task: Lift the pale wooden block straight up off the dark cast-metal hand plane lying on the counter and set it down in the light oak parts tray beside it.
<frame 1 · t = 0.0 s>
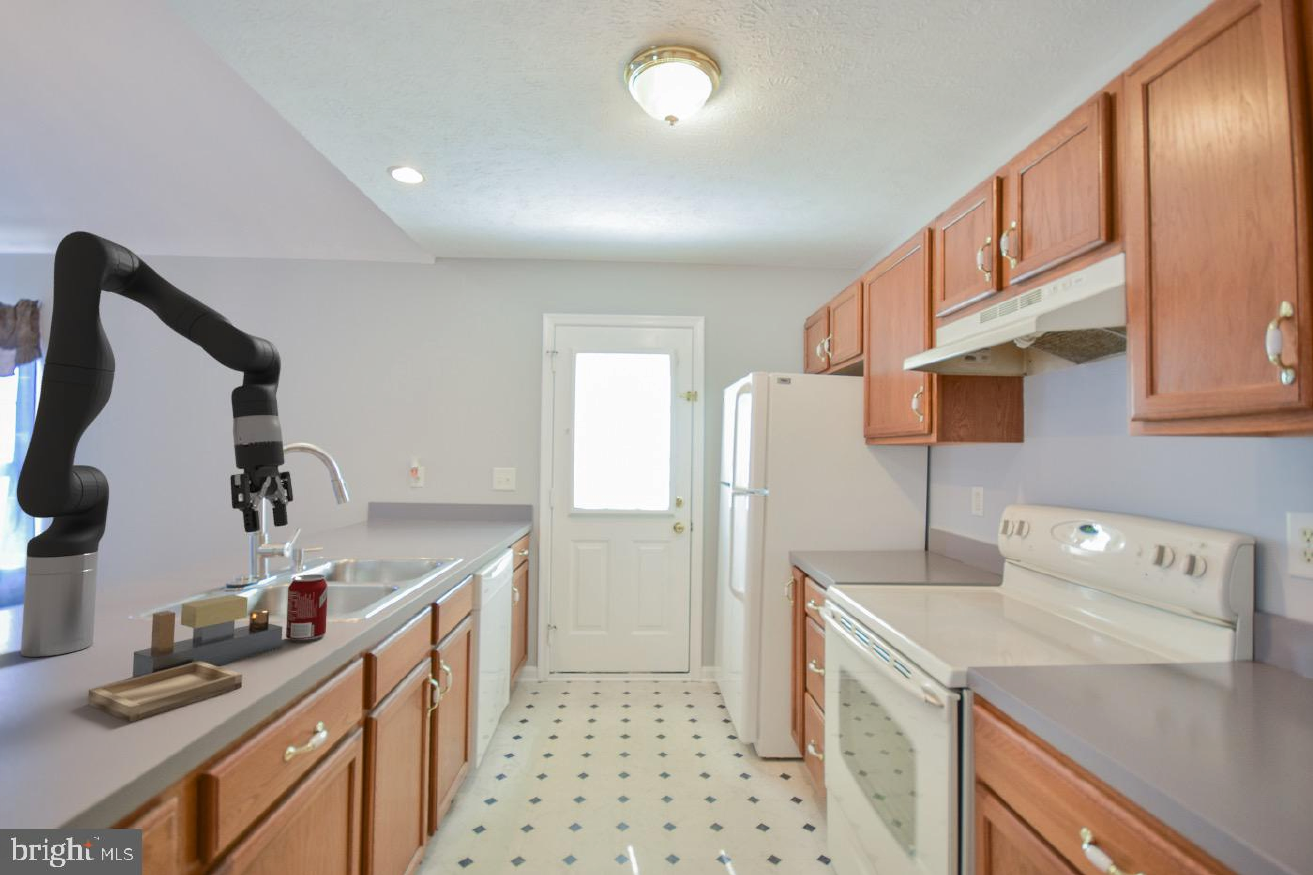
hand: (267, 528, 109), 22 cm above the counter, tool pointing down, fingers open, 8 cm apart
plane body: (212, 661, 103), on the counter
pale wooden block: (214, 620, 103), point 7 cm above the counter, touching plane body
soda can: (305, 639, 116), on the counter
parts tray: (167, 695, 88), on the counter
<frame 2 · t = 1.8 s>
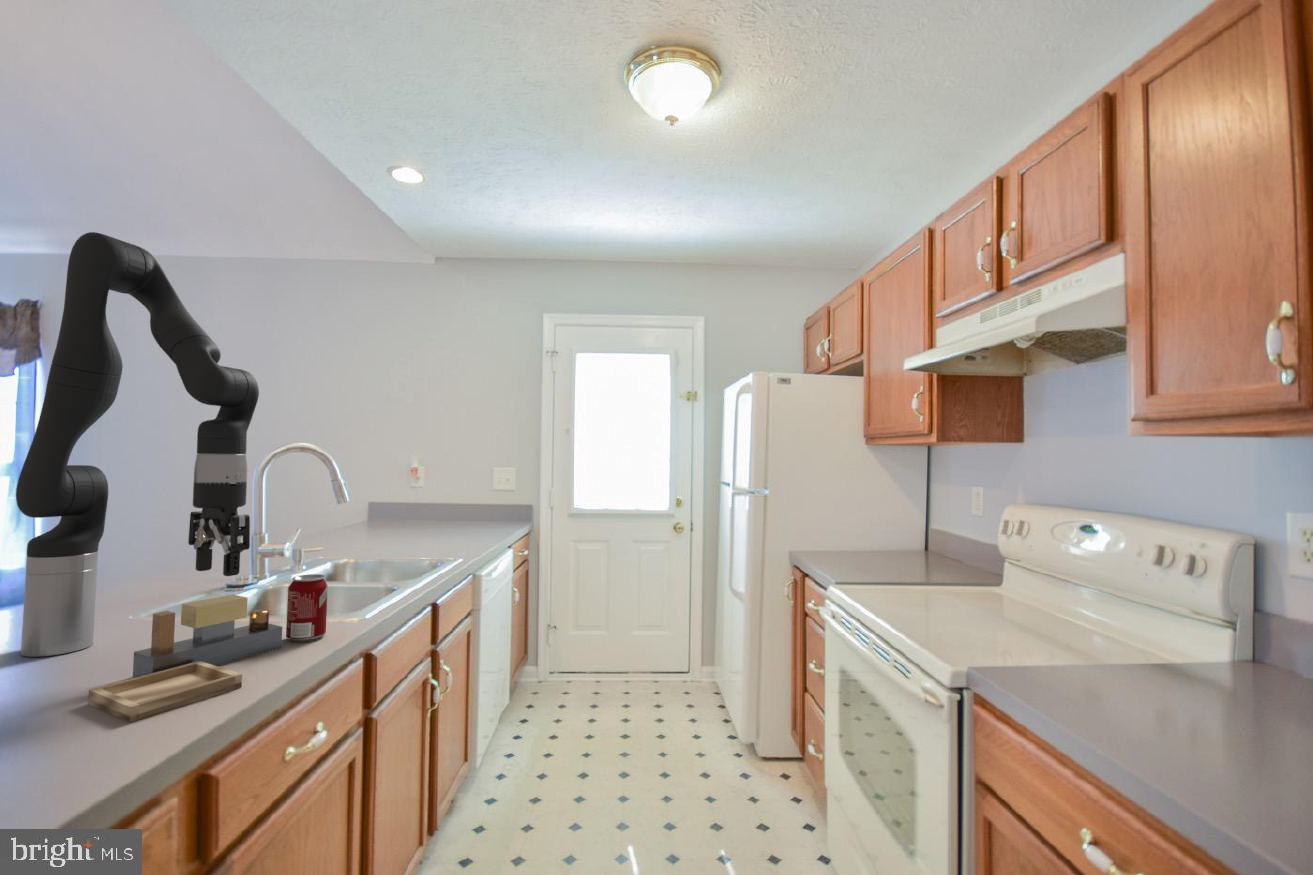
hand: (217, 572, 103), 15 cm above the counter, tool pointing down, fingers open, 8 cm apart
nothing on the counter moved.
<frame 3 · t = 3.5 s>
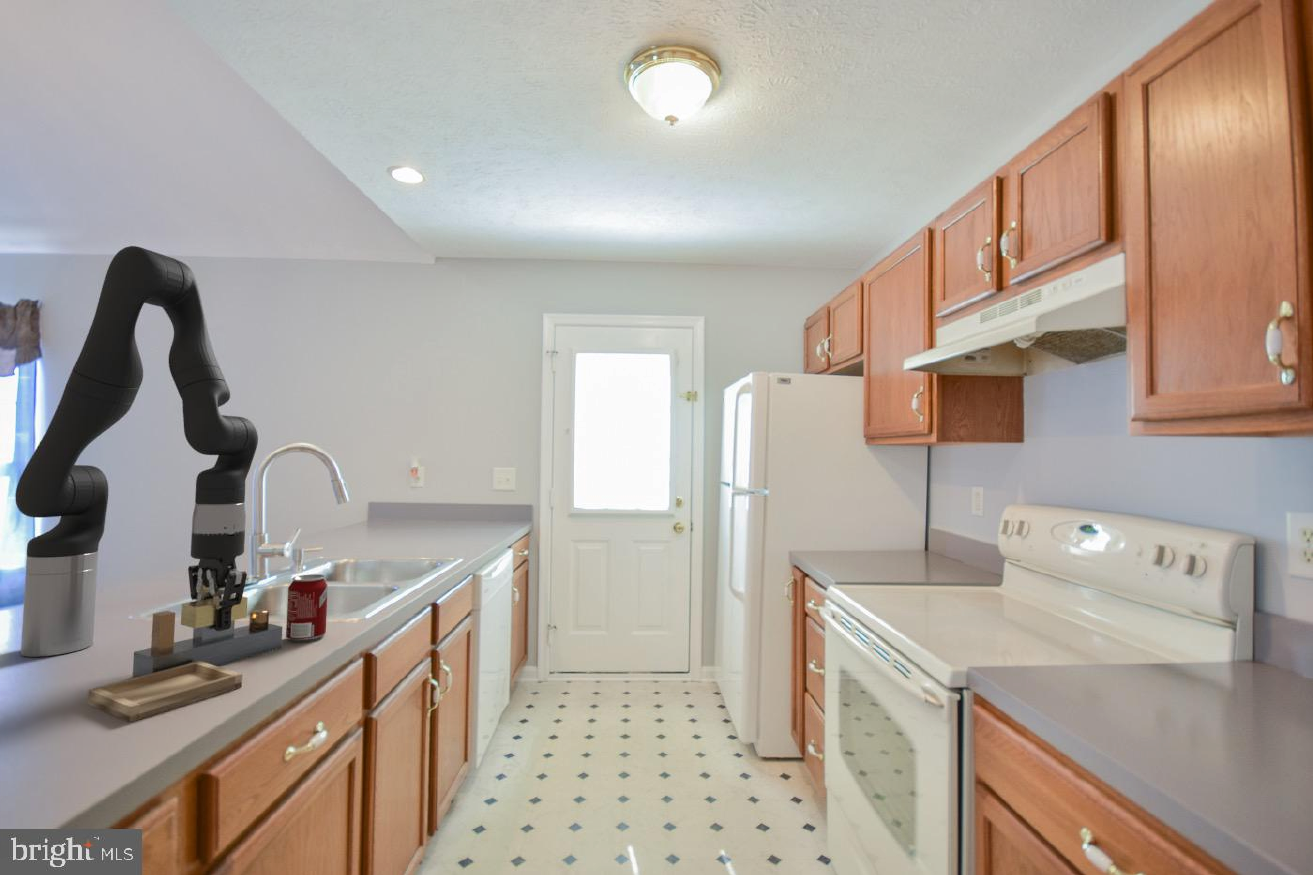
hand: (214, 627, 103), 6 cm above the counter, tool pointing down, fingers closed on pale wooden block, 4 cm apart
pale wooden block: (214, 620, 103), point 7 cm above the counter, touching gripper, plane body
everything else where it was.
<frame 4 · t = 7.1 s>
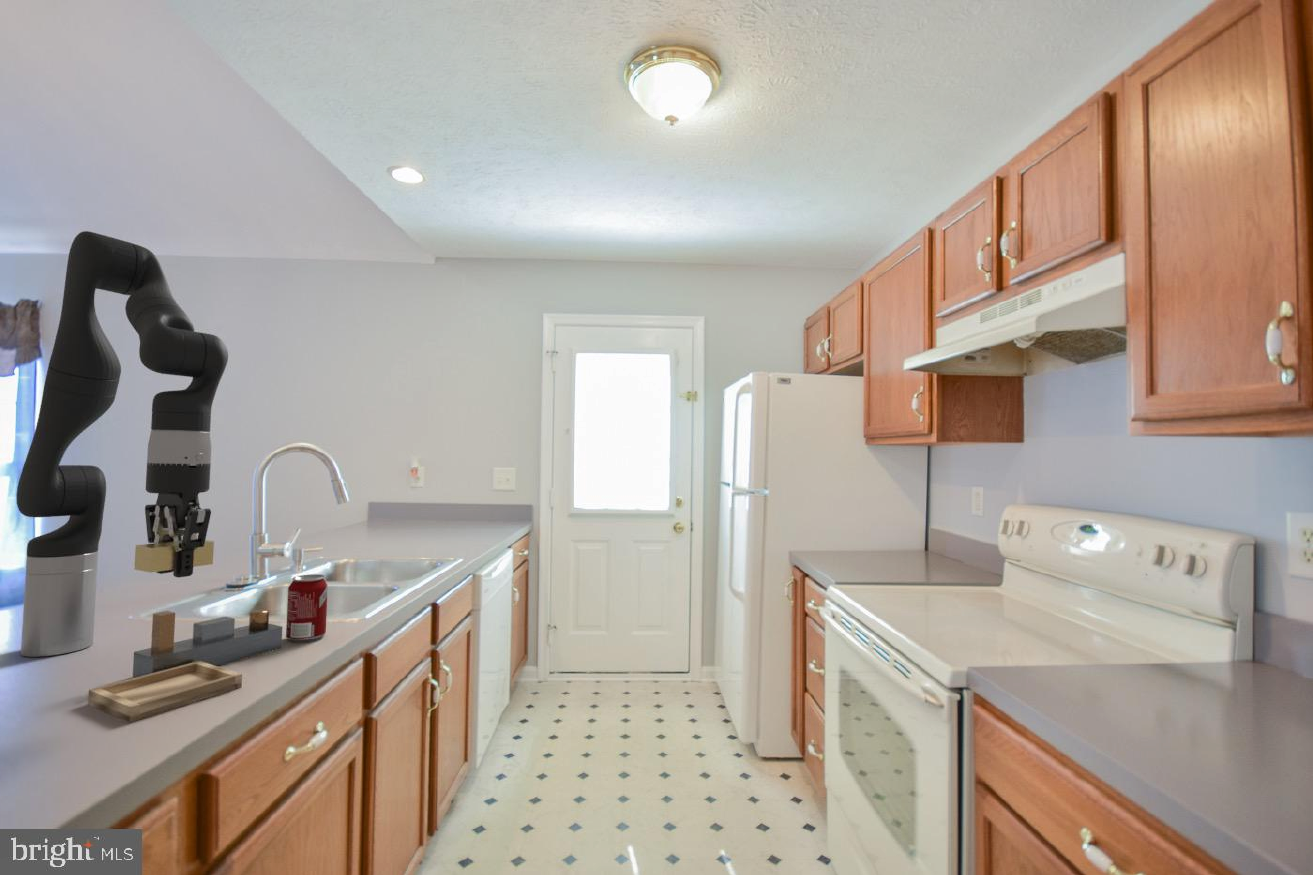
hand: (174, 574, 89), 18 cm above the counter, tool pointing down, fingers closed on pale wooden block, 4 cm apart
pale wooden block: (174, 566, 89), point 19 cm above the counter, touching gripper
everything else where it was.
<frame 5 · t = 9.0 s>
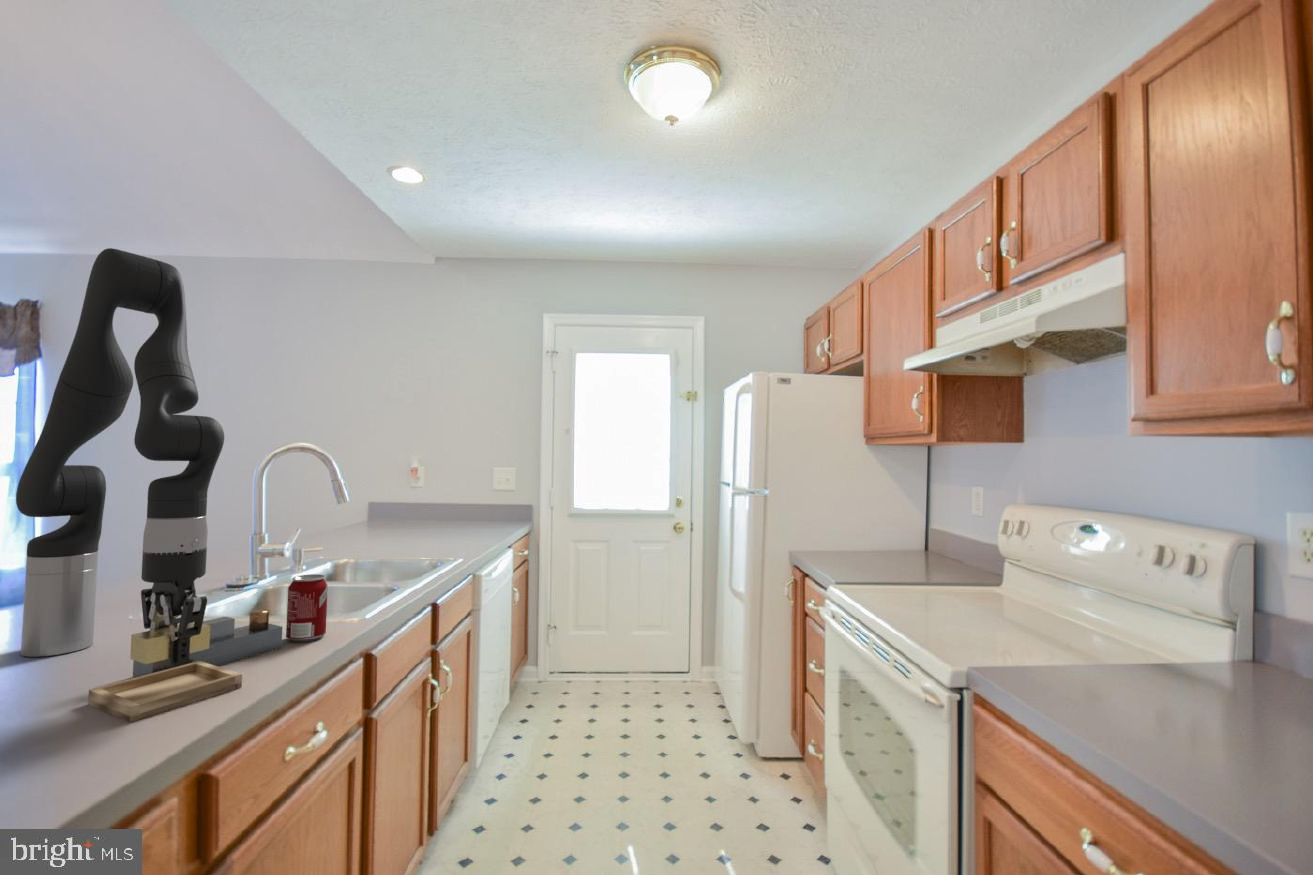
hand: (170, 661, 88), 5 cm above the counter, tool pointing down, fingers closed on pale wooden block, 4 cm apart
pale wooden block: (170, 653, 89), point 6 cm above the counter, touching gripper
everything else where it was.
when the fingers open (2 cm above the counter, at t = 10.6 s): pale wooden block drops 2 cm, resting on parts tray.
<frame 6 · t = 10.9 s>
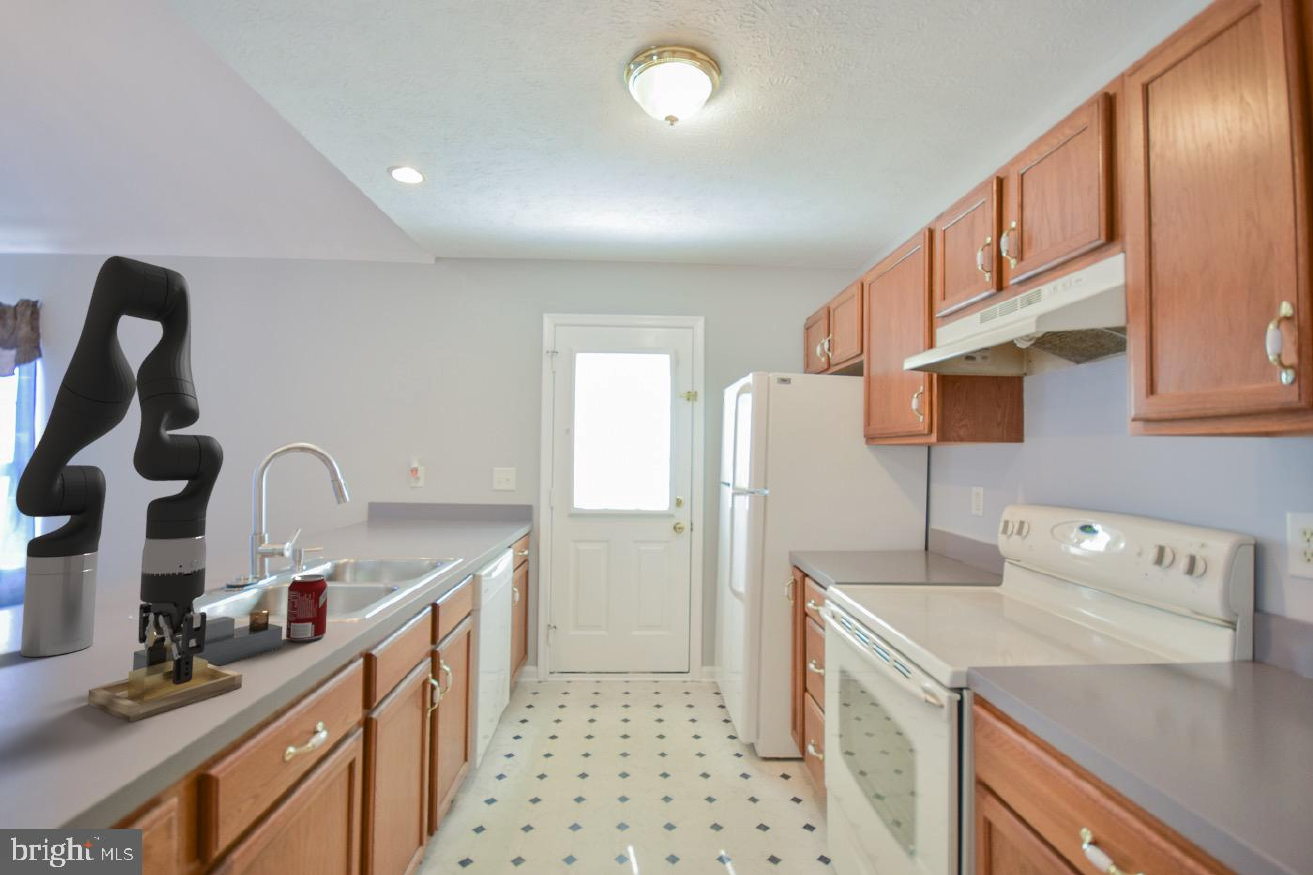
hand: (168, 677, 88), 3 cm above the counter, tool pointing down, fingers open, 7 cm apart
pale wooden block: (168, 689, 88), point 1 cm above the counter, touching parts tray
everything else where it was.
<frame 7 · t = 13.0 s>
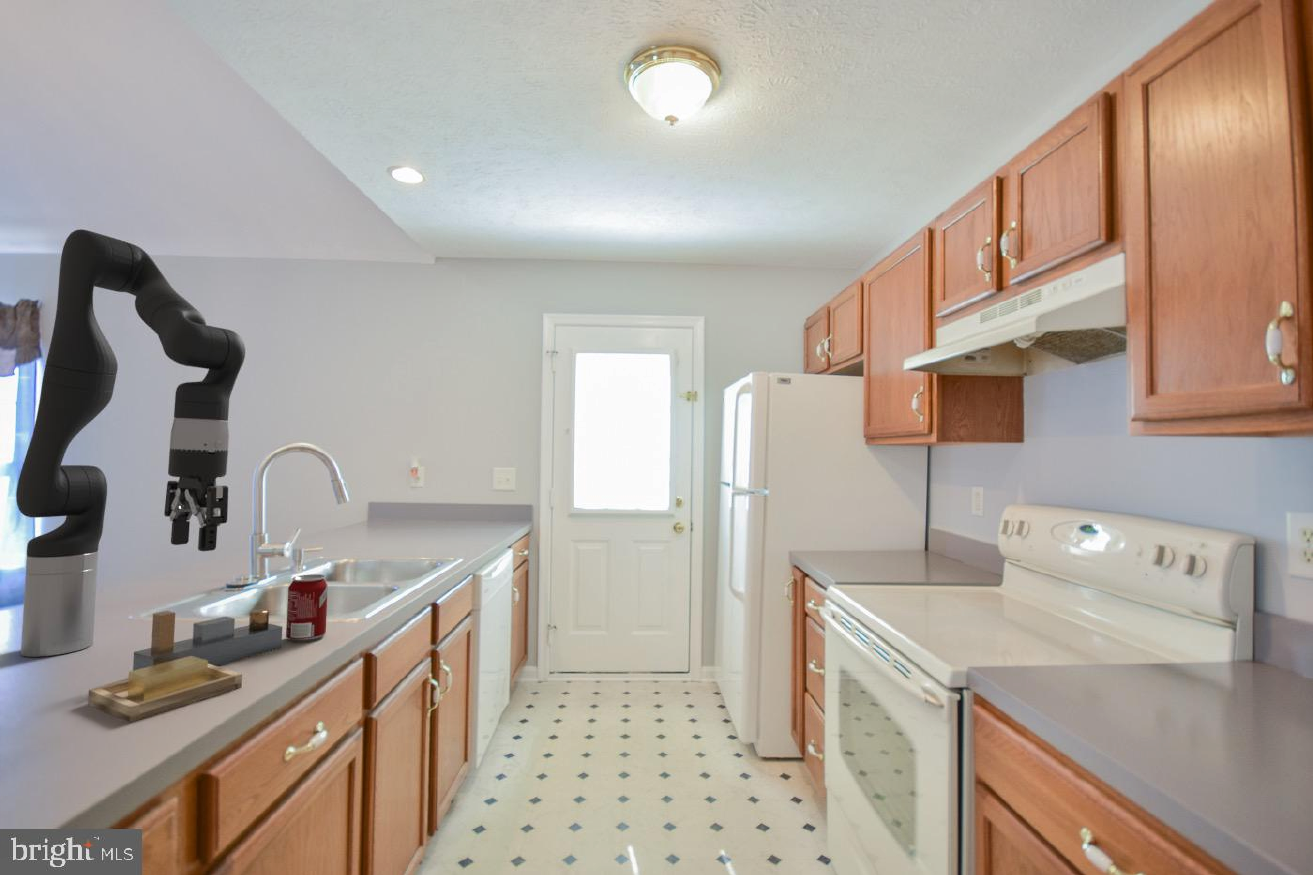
hand: (192, 547, 96), 21 cm above the counter, tool pointing down, fingers open, 8 cm apart
nothing on the counter moved.
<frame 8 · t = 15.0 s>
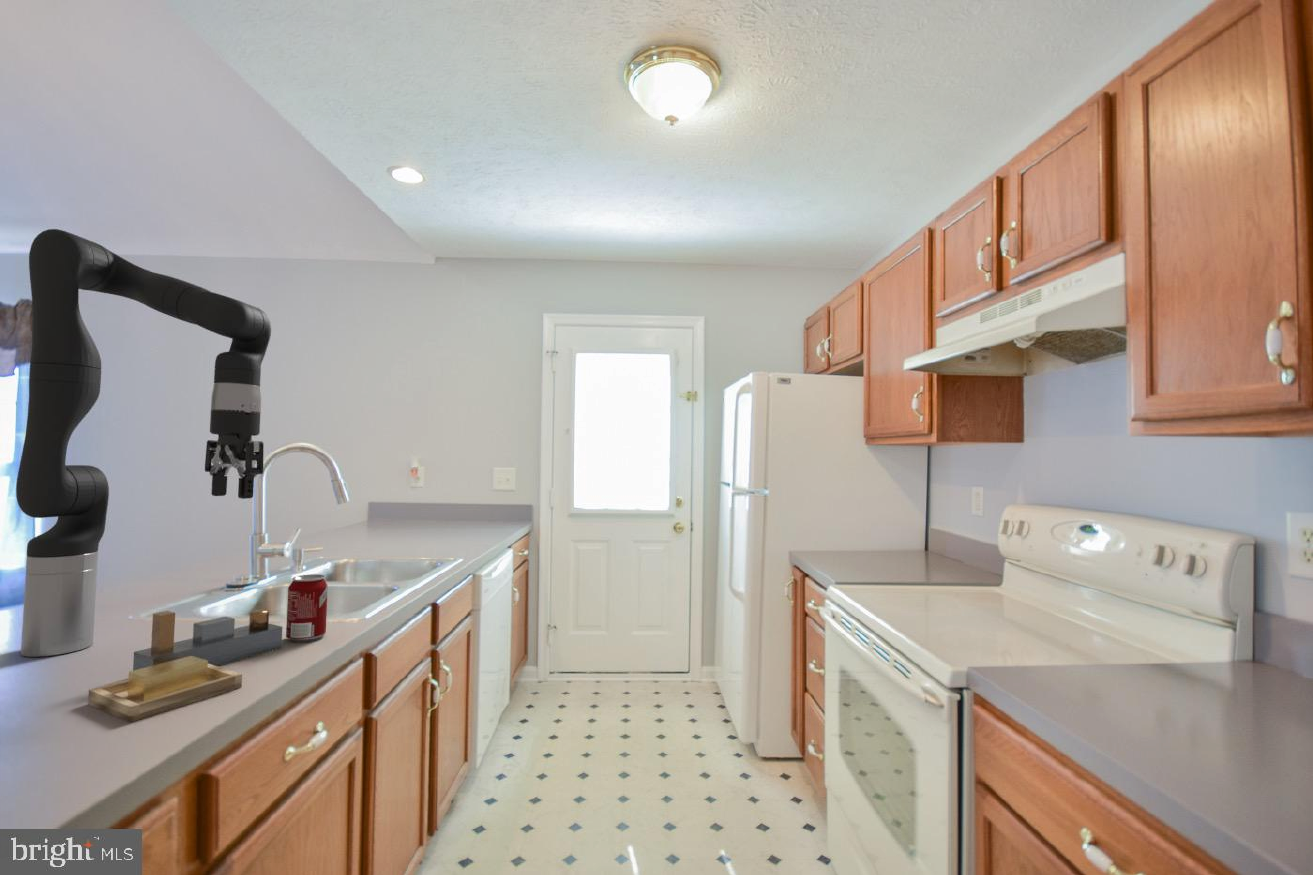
hand: (232, 497, 109), 28 cm above the counter, tool pointing down, fingers open, 8 cm apart
nothing on the counter moved.
at the end: pale wooden block inside the target area on the parts tray (0.1 cm from its centre), point 0.8 cm above the parts tray's base; the gripper is holding nothing; pale wooden block touching parts tray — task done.
